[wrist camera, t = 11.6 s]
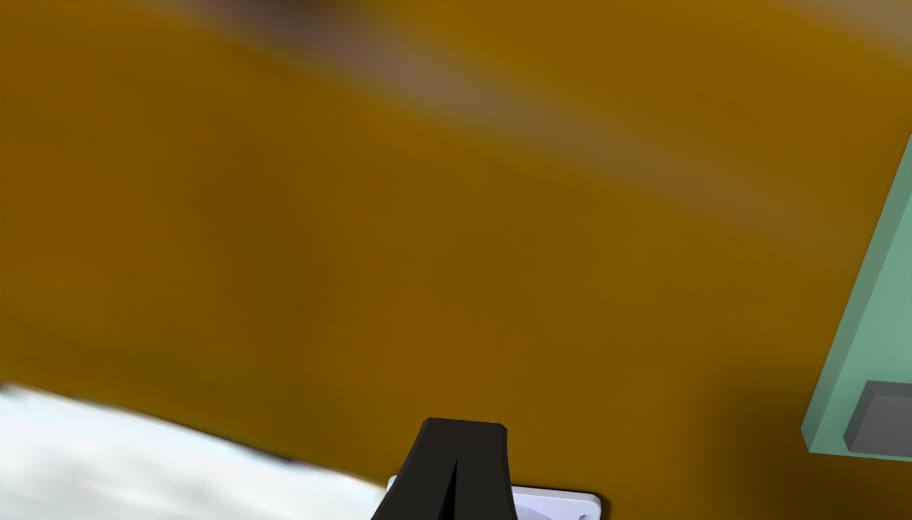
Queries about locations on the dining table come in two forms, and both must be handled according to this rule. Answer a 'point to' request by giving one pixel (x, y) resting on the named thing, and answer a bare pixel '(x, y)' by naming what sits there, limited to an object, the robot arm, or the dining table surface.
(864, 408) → the board
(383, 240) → the dining table surface
